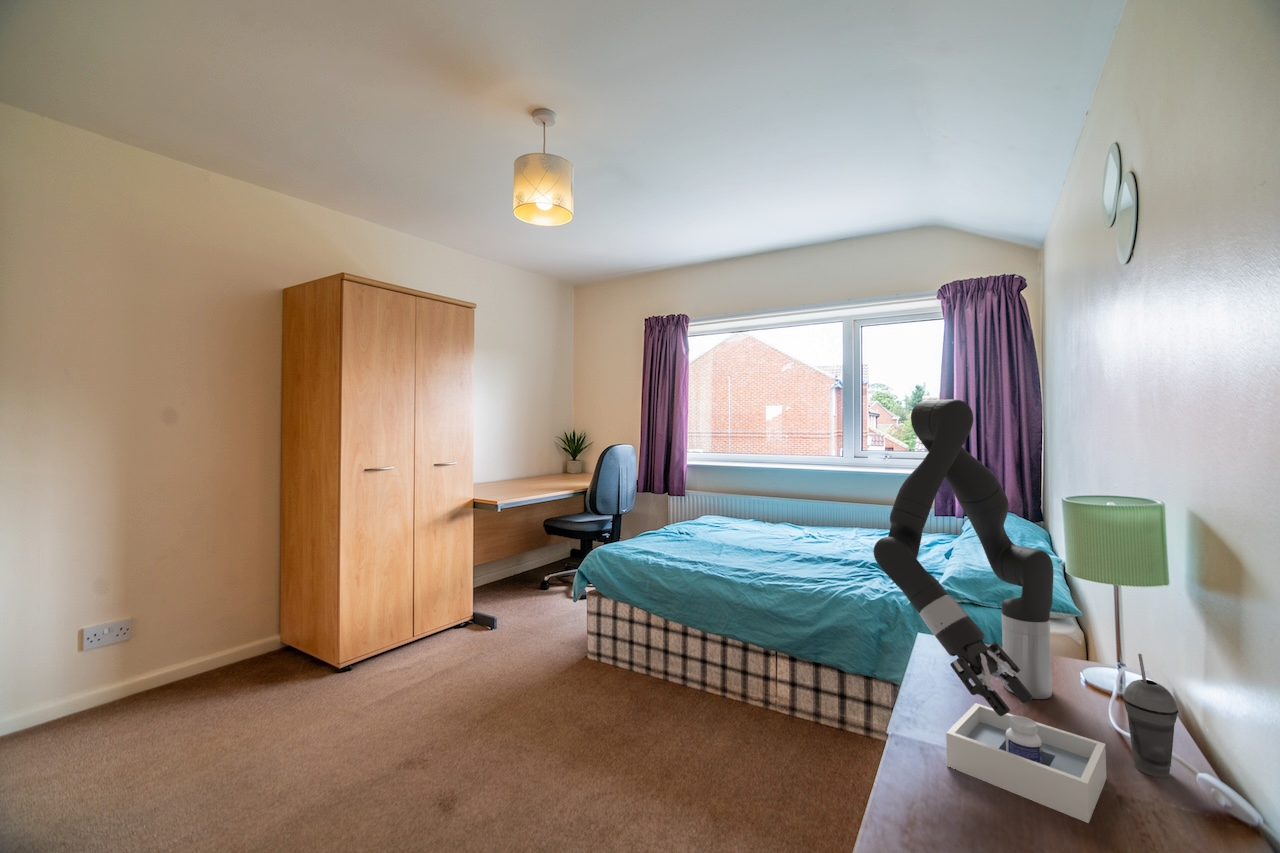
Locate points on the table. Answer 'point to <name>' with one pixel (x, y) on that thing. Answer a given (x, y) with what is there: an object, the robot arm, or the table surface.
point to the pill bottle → (1024, 739)
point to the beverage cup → (1150, 724)
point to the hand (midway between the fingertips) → (1017, 707)
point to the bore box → (1030, 762)
